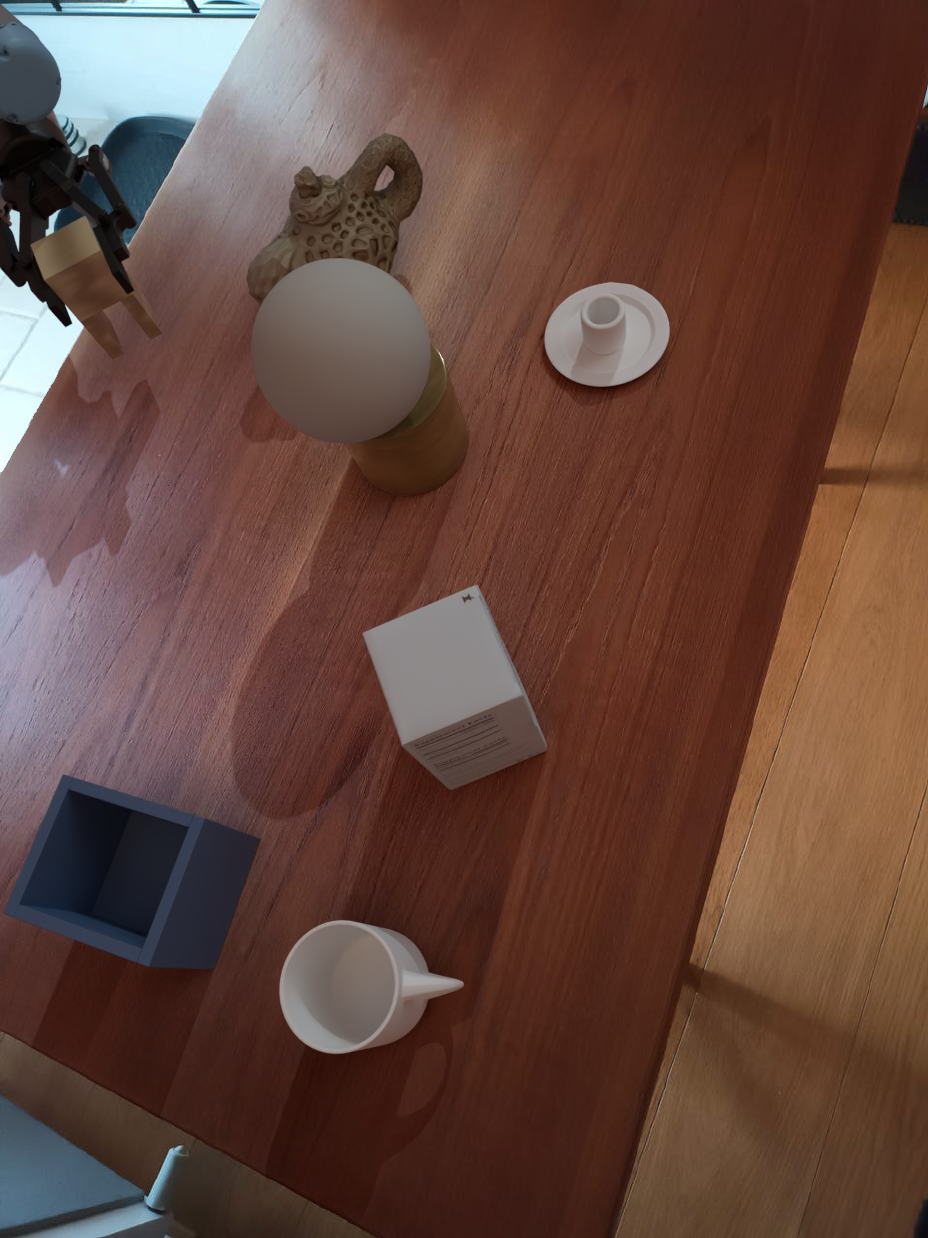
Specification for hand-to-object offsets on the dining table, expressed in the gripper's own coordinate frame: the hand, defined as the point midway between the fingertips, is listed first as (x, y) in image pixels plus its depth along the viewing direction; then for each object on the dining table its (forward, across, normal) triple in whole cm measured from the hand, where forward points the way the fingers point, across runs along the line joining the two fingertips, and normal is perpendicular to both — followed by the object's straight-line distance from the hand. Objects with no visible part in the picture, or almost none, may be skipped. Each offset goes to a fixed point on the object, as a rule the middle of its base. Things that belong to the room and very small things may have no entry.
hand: (92, 298), depth 87 cm
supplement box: (+49, -13, -15) cm, 53 cm away
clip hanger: (-5, 0, -10) cm, 11 cm away
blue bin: (+48, +16, -15) cm, 53 cm away
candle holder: (+20, -41, -15) cm, 48 cm away
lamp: (+22, -18, -15) cm, 32 cm away
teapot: (-1, -23, -15) cm, 28 cm away
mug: (+65, +2, -15) cm, 66 cm away
